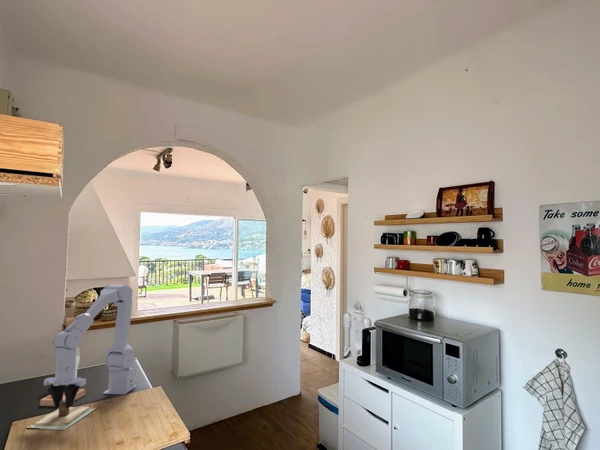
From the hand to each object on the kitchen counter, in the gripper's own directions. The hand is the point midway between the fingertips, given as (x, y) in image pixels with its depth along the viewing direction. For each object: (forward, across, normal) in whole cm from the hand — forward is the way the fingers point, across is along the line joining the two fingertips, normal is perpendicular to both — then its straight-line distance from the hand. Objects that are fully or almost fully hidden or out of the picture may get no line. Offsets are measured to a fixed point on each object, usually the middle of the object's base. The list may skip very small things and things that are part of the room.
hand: (63, 406), depth 110 cm
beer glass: (+4, -24, +29) cm, 38 cm away
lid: (+3, 0, 0) cm, 4 cm away
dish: (+4, -12, +13) cm, 18 cm away
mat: (+4, 0, 0) cm, 4 cm away
